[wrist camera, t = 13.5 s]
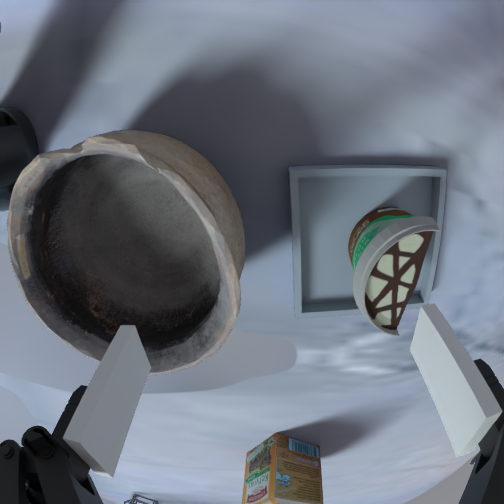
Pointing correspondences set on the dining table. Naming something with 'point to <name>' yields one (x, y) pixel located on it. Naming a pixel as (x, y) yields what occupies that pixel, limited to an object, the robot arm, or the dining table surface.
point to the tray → (343, 222)
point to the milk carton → (283, 472)
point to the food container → (388, 263)
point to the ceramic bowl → (129, 246)
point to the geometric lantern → (137, 500)
